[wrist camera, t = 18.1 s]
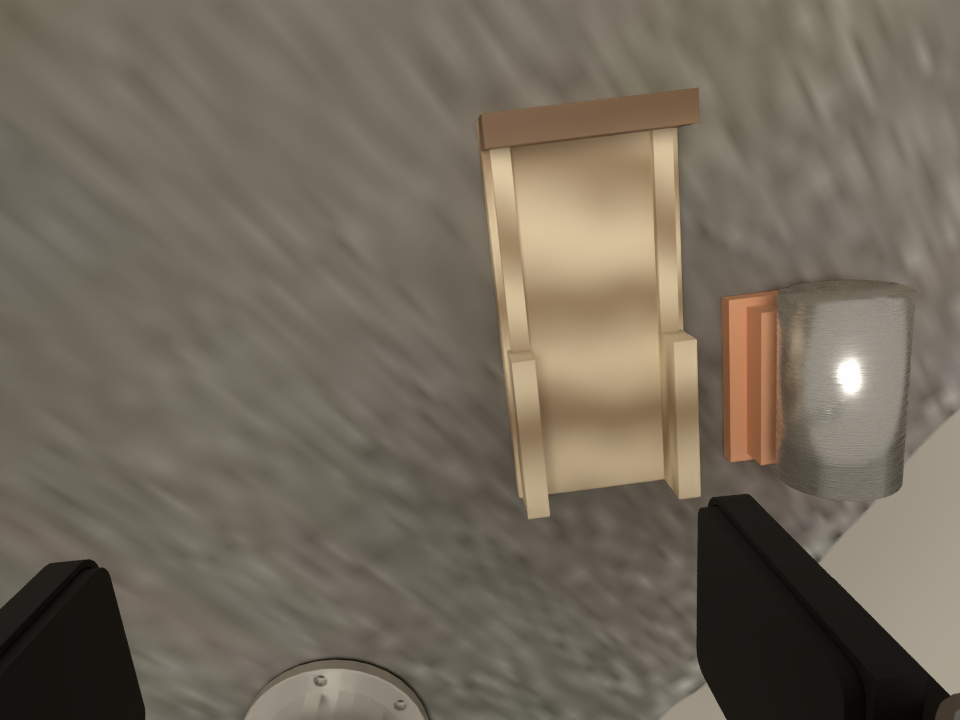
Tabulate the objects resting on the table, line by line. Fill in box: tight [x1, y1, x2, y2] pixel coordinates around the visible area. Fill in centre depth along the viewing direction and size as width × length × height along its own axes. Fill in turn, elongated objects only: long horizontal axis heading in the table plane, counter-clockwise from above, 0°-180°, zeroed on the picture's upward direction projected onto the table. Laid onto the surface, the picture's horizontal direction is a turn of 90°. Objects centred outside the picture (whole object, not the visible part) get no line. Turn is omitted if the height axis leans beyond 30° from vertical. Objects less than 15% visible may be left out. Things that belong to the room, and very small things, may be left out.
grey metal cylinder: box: [776, 280, 916, 501], centre depth 34 cm, size 10×6×6 cm, turn 7°
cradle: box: [722, 290, 780, 465], centre depth 37 cm, size 10×8×3 cm
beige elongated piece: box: [476, 88, 701, 519], centre depth 35 cm, size 21×10×5 cm, turn 7°
